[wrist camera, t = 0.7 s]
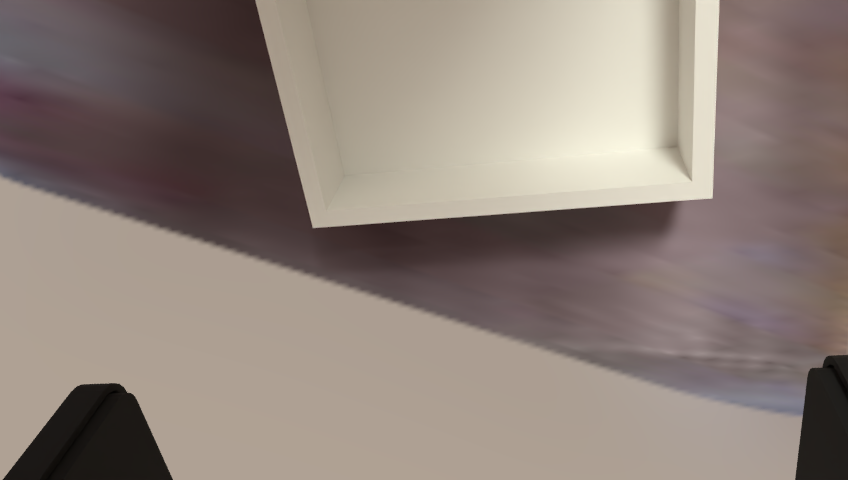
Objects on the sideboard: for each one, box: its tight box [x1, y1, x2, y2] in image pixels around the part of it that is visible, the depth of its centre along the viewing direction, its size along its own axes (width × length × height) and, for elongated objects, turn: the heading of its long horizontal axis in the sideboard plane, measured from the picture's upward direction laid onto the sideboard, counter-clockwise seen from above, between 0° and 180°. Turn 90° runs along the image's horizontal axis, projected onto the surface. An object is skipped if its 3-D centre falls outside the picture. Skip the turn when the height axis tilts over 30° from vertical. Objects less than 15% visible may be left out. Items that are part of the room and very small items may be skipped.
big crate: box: [255, 0, 719, 228], centre depth 30 cm, size 15×17×4 cm
